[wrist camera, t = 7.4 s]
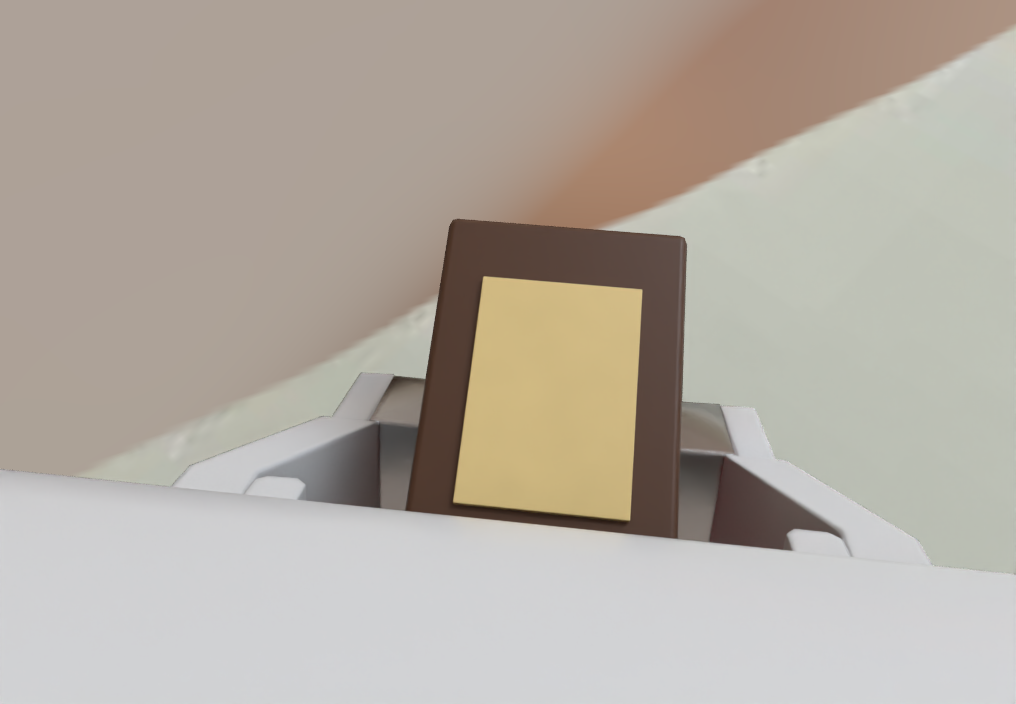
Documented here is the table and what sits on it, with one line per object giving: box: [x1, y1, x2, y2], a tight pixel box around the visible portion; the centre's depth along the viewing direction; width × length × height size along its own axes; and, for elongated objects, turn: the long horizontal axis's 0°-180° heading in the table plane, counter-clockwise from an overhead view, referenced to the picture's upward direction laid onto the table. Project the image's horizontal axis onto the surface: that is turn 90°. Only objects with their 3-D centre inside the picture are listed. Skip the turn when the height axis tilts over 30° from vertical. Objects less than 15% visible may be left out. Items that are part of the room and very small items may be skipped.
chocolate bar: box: [405, 219, 687, 539], centre depth 13 cm, size 4×3×8 cm
